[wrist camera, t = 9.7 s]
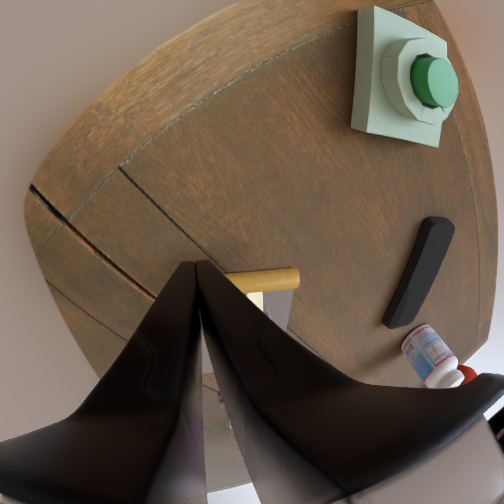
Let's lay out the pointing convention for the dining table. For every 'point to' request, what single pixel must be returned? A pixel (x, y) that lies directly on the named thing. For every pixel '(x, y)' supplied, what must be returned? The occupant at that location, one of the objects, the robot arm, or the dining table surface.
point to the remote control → (420, 271)
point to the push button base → (394, 78)
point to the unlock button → (434, 81)
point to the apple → (466, 373)
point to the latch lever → (264, 282)
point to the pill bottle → (431, 358)
